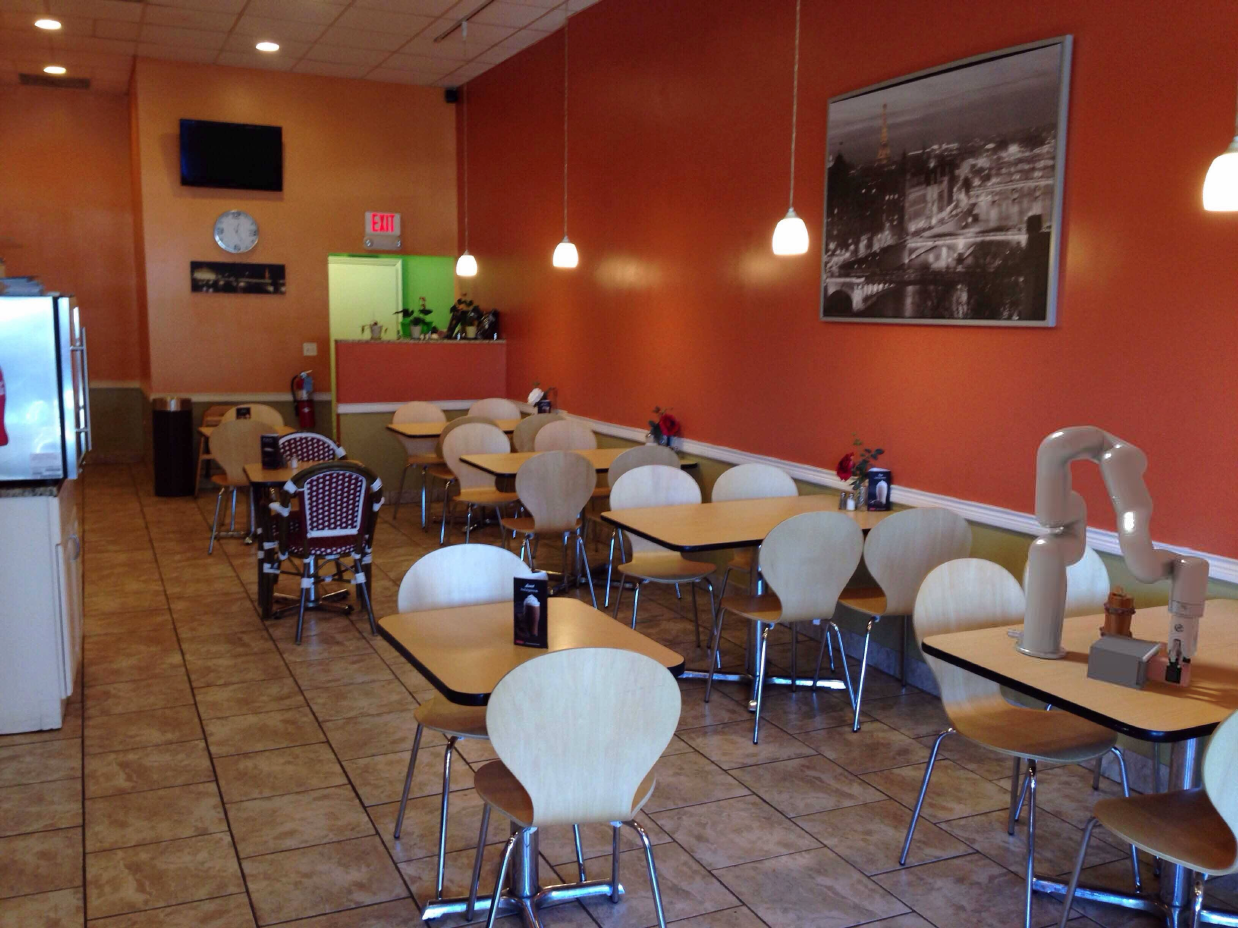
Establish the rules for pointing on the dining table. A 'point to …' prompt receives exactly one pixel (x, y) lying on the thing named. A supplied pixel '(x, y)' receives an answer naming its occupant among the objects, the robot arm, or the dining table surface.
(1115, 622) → the brown wooden cylinder bundle
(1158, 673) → the long pink plank
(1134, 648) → the dispenser
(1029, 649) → the robot arm
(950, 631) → the dining table surface
